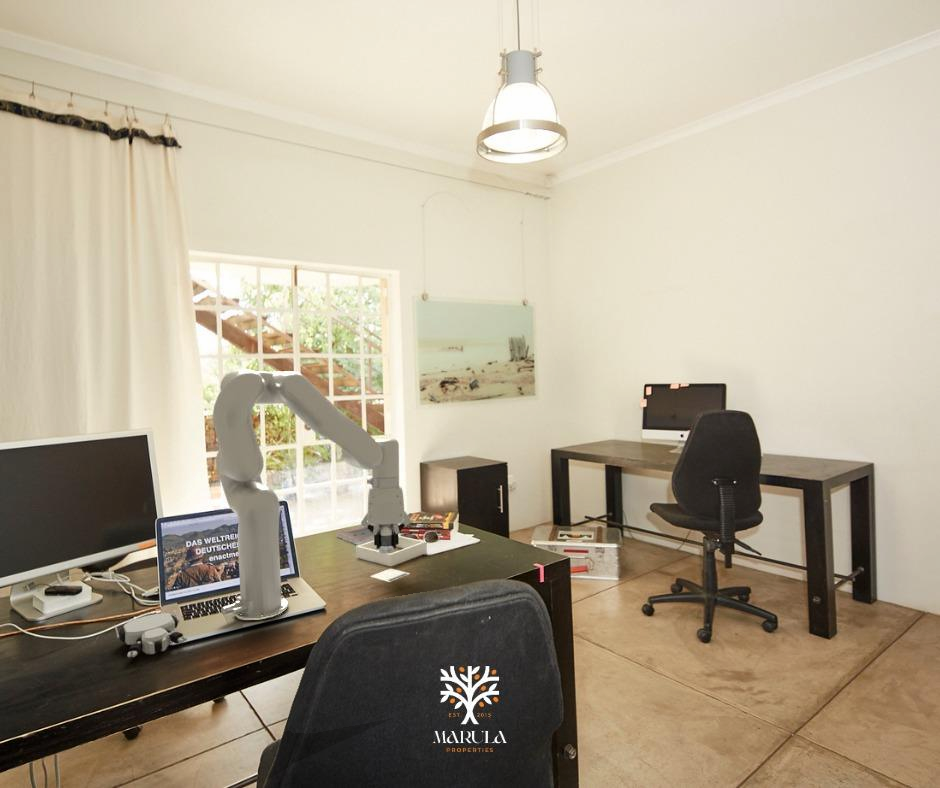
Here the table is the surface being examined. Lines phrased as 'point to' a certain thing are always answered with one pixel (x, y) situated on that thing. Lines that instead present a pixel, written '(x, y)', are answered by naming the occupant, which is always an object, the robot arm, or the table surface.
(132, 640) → the robot toy
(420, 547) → the tub
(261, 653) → the table surface
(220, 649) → the table surface
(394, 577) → the plate
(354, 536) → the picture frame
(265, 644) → the table surface
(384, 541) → the clear bottle
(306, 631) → the table surface
